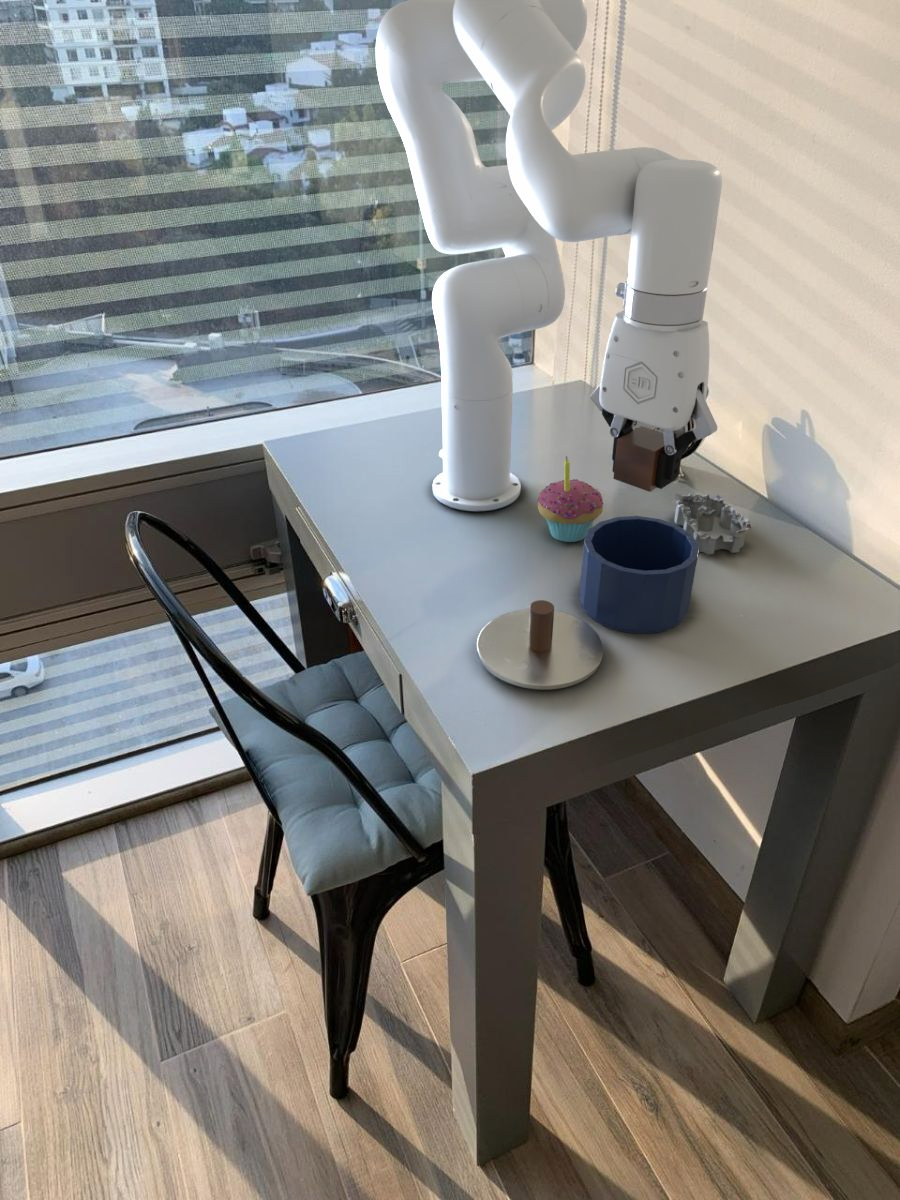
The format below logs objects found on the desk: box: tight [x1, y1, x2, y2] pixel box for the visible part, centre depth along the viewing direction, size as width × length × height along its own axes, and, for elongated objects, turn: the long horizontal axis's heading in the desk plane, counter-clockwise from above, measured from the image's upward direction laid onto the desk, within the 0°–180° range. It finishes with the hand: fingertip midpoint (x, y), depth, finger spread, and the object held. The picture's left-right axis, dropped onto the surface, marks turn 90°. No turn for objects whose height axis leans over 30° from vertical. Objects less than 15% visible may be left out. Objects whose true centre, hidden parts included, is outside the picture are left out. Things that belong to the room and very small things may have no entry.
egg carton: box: [673, 493, 752, 555], centre depth 117 cm, size 11×8×4 cm
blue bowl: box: [578, 515, 700, 635], centre depth 103 cm, size 13×13×8 cm
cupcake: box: [537, 455, 604, 543], centre depth 115 cm, size 9×8×12 cm
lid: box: [476, 599, 604, 691], centre depth 96 cm, size 14×14×6 cm
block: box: [612, 425, 664, 492], centre depth 94 cm, size 5×5×5 cm
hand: (643, 474), depth 96 cm, fingers closed on block, 4 cm apart
